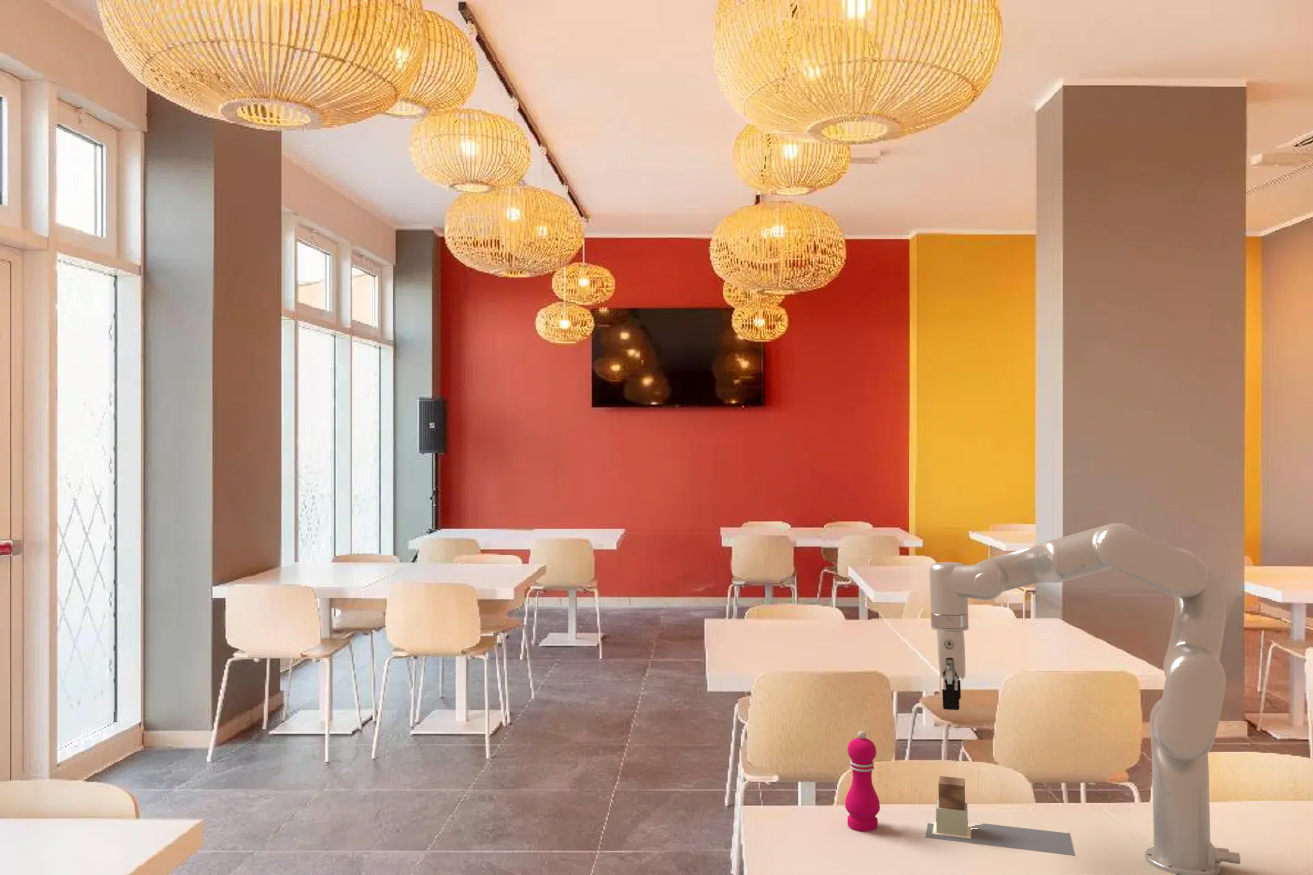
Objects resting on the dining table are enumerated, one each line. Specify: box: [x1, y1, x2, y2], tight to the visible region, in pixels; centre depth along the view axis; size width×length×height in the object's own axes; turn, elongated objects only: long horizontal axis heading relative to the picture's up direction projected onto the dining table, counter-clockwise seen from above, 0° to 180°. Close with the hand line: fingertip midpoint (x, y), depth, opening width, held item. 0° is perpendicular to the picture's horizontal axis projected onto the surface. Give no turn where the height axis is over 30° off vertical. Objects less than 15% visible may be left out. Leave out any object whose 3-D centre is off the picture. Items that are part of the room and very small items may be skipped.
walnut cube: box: [938, 775, 966, 811], centre depth 197 cm, size 5×5×5 cm
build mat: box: [925, 822, 1076, 857], centre depth 194 cm, size 28×12×1 cm, turn 71°
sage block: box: [935, 798, 969, 836], centre depth 197 cm, size 6×6×5 cm
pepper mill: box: [844, 730, 881, 833], centre depth 200 cm, size 7×7×20 cm
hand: (952, 703), depth 197 cm, fingers open, 9 cm apart
